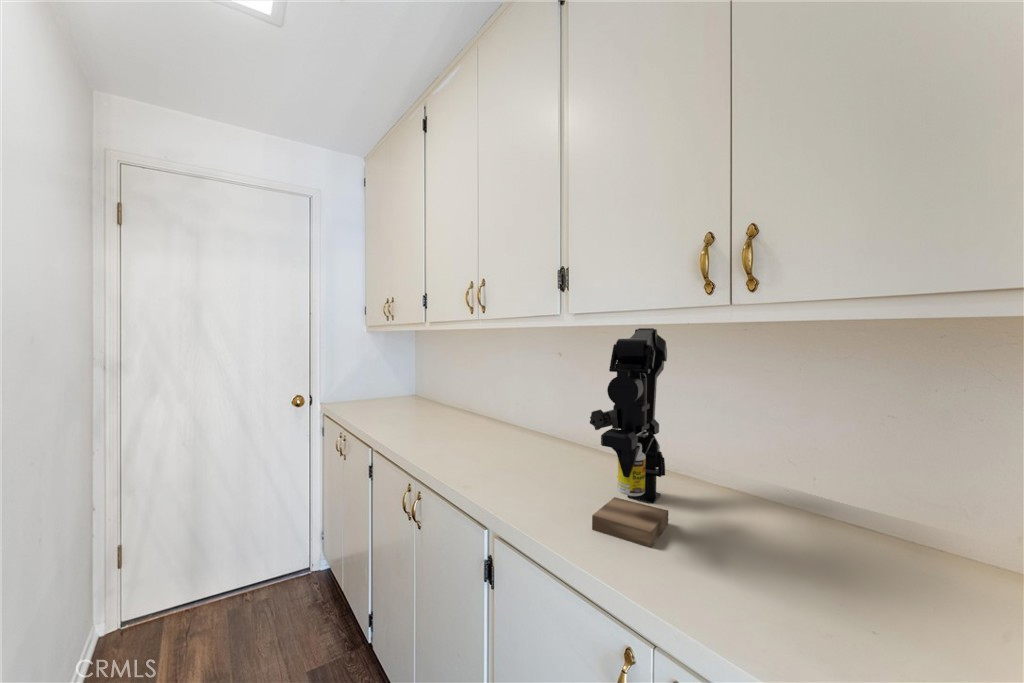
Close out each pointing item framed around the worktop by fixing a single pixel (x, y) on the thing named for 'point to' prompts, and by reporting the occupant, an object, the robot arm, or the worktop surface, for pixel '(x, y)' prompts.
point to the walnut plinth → (630, 521)
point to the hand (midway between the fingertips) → (631, 473)
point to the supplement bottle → (633, 476)
